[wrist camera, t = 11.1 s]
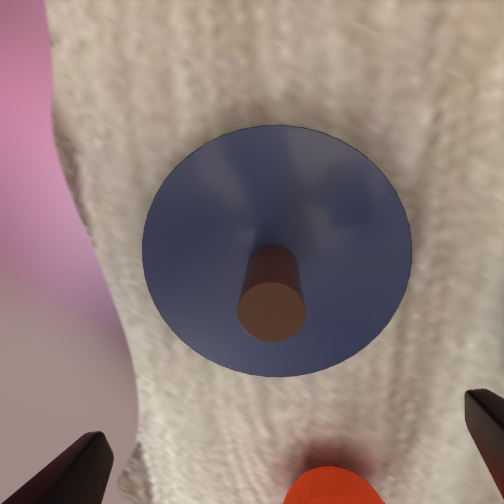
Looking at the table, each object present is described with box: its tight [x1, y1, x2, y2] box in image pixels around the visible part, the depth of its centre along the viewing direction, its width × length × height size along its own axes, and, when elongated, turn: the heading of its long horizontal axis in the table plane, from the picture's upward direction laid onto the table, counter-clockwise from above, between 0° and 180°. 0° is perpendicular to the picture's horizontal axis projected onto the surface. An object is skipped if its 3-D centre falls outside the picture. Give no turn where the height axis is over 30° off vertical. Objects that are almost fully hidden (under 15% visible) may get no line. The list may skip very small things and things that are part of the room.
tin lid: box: [142, 125, 412, 377], centre depth 14 cm, size 14×14×6 cm
